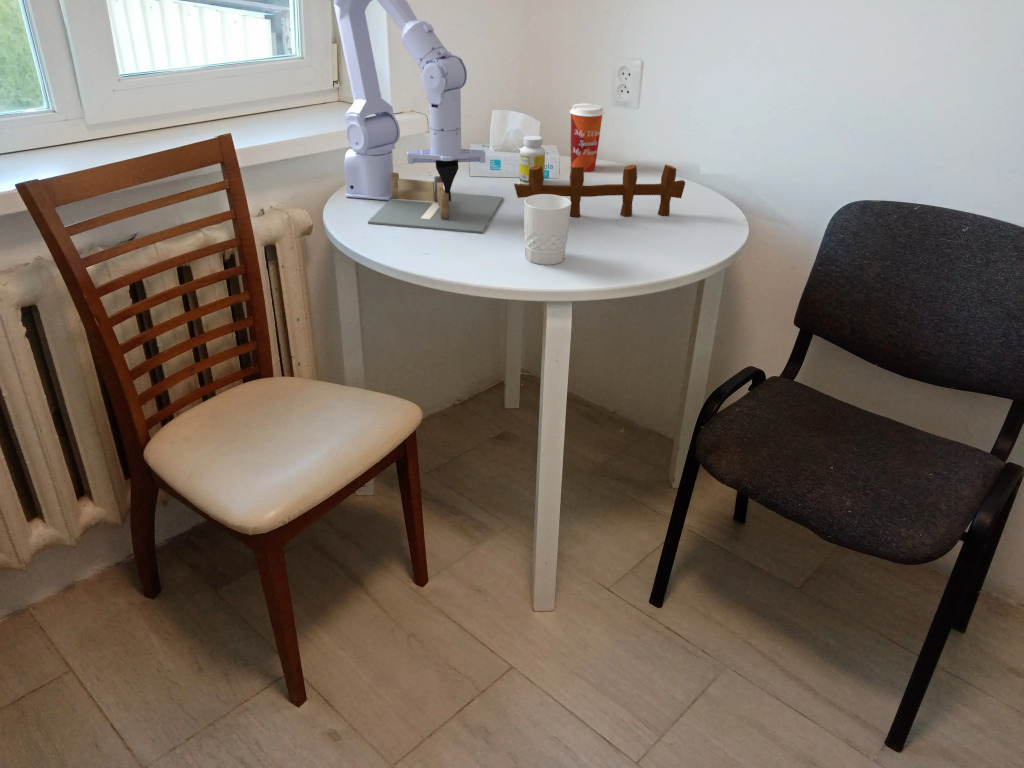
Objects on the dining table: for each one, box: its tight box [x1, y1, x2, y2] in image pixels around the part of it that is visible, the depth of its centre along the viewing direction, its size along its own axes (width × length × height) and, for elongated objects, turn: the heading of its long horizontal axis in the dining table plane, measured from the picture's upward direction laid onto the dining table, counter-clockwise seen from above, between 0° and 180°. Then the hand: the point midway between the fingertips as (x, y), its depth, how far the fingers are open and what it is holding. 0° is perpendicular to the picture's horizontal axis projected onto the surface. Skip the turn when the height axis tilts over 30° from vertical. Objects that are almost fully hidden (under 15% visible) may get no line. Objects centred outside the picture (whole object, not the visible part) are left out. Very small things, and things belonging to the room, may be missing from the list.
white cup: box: [523, 194, 571, 266], centre depth 134 cm, size 8×8×10 cm
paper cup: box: [569, 102, 605, 173], centre depth 181 cm, size 8×8×14 cm
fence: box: [513, 164, 686, 219], centre depth 154 cm, size 34×3×10 cm, turn 97°
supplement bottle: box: [519, 135, 546, 185], centre depth 171 cm, size 5×5×10 cm
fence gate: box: [437, 182, 449, 219], centre depth 153 cm, size 10×2×5 cm, turn 11°
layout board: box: [367, 190, 504, 235], centre depth 156 cm, size 22×21×1 cm
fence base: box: [391, 172, 444, 203], centre depth 159 cm, size 11×2×5 cm, turn 80°
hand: (447, 200), depth 153 cm, fingers closed, pressing on fence gate
